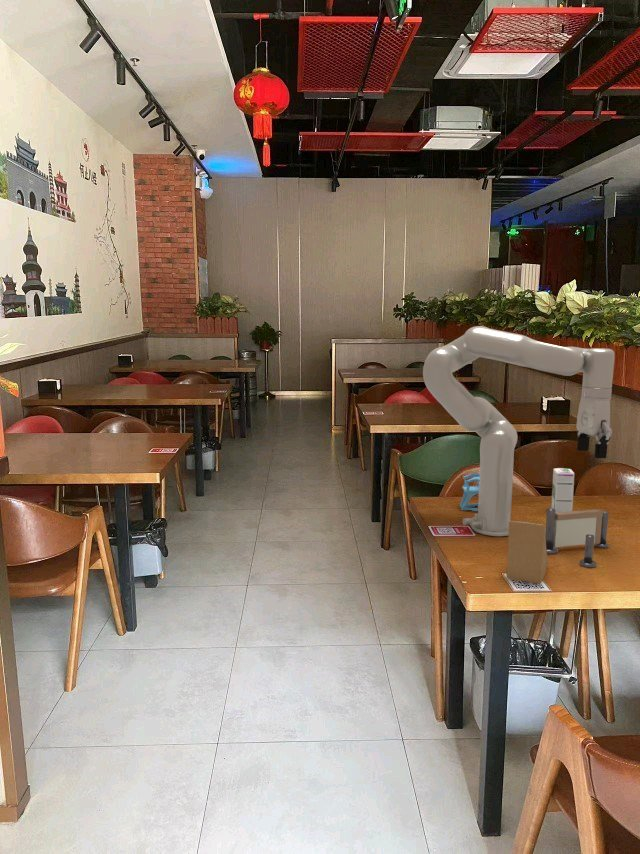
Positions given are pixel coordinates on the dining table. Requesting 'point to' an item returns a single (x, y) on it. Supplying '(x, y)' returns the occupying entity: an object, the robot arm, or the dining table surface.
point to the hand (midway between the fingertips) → (591, 454)
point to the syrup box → (562, 489)
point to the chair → (470, 492)
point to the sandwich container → (526, 552)
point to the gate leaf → (577, 527)
